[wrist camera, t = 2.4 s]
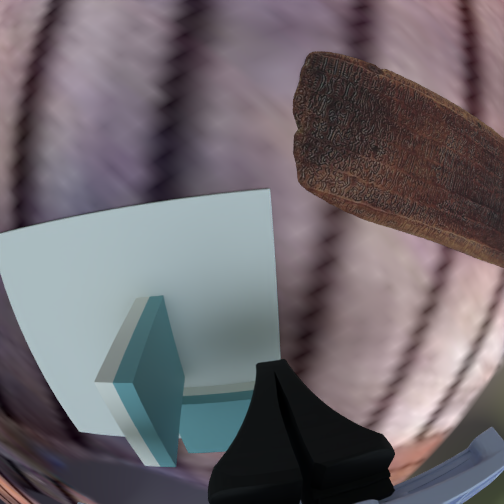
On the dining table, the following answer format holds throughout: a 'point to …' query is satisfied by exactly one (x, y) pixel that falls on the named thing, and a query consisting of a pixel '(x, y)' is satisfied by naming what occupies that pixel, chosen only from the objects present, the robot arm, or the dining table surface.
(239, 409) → the flat tile
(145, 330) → the tile
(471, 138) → the wooden tablet
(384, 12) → the dining table surface
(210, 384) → the felt mat
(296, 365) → the dining table surface
